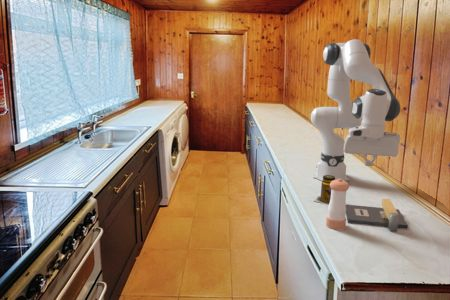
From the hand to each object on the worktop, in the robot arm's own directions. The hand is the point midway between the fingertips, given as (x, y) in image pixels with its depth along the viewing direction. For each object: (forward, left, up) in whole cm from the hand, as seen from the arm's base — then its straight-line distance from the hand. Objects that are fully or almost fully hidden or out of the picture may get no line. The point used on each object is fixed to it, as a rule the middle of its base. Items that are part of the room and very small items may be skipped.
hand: (368, 165), depth 150 cm
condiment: (-14, -15, -22) cm, 30 cm away
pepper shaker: (+12, -12, -22) cm, 28 cm away
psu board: (0, +4, -22) cm, 22 cm away
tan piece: (+3, +9, -21) cm, 24 cm away
